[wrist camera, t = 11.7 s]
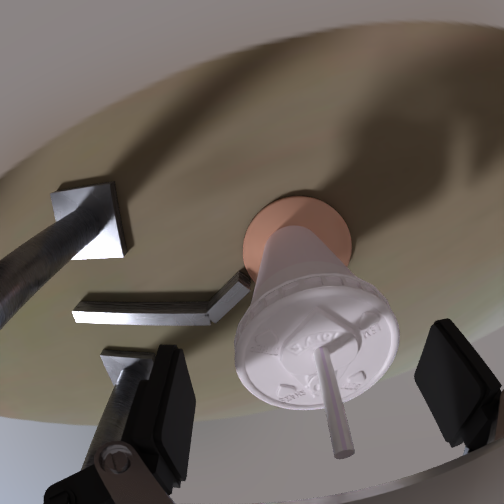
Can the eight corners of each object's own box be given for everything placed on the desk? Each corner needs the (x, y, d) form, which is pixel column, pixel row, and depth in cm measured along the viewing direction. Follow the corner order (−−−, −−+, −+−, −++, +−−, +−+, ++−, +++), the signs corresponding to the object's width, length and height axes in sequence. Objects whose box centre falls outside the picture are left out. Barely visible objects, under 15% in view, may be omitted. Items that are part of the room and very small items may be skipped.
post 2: (120, 387, 26) (58, 568, 8) (103, 349, 24) (15, 549, 6) (167, 391, 26) (122, 592, 8) (154, 352, 24) (84, 584, 5)
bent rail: (83, 311, 22) (76, 321, 21) (71, 275, 21) (62, 284, 20) (252, 311, 22) (252, 324, 21) (249, 270, 21) (249, 280, 19)
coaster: (246, 297, 21) (246, 301, 21) (239, 198, 19) (239, 200, 18) (345, 291, 21) (347, 296, 21) (351, 194, 18) (354, 196, 18)
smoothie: (338, 196, 18) (480, 356, 5) (344, 288, 20) (421, 473, 8) (233, 213, 18) (191, 414, 6) (251, 303, 21) (248, 506, 8)
